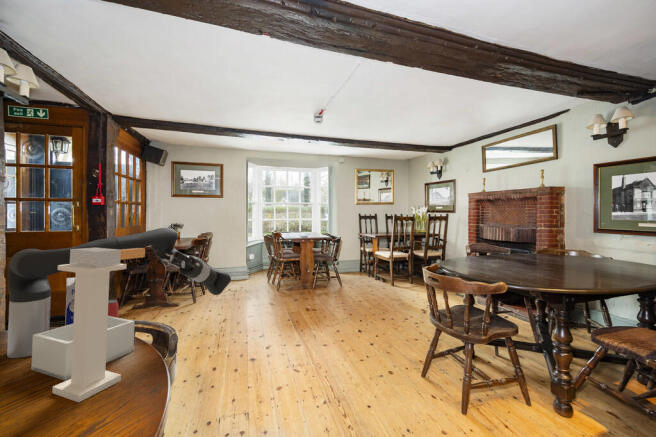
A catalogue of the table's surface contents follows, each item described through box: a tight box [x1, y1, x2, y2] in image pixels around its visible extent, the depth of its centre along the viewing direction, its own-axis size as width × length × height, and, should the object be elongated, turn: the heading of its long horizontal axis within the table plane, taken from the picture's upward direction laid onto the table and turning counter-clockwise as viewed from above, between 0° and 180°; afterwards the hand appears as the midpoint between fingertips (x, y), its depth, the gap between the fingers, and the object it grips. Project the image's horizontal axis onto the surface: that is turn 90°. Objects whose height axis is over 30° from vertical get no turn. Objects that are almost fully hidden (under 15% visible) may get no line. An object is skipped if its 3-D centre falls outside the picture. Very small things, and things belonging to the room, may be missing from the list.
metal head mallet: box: [70, 247, 146, 268], centre depth 80 cm, size 10×16×4 cm, turn 161°
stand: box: [51, 263, 128, 403], centre depth 74 cm, size 12×10×32 cm
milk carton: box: [64, 277, 75, 326], centre depth 111 cm, size 7×7×20 cm
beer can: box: [108, 298, 119, 318], centre depth 108 cm, size 7×7×12 cm
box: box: [30, 316, 136, 382], centre depth 88 cm, size 15×19×10 cm
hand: (165, 253), depth 99 cm, fingers open, 8 cm apart
